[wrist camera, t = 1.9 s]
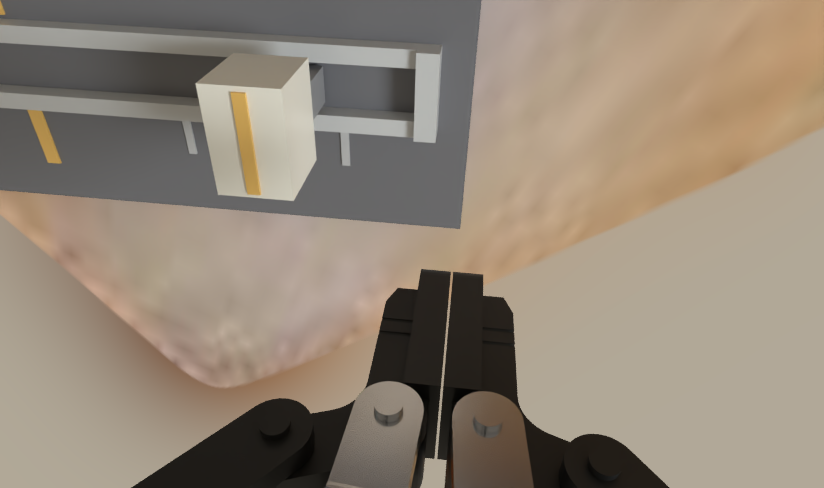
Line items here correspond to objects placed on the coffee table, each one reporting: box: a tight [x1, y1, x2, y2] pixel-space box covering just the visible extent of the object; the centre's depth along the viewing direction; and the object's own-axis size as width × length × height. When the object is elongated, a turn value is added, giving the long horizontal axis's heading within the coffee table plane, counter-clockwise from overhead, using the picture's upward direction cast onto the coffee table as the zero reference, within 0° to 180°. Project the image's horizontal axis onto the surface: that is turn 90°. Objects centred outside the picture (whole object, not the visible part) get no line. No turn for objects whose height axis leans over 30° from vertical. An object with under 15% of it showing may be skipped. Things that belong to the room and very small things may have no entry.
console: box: [0, 0, 481, 229], centre depth 27 cm, size 15×32×3 cm, turn 88°
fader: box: [195, 53, 325, 201], centre depth 23 cm, size 4×3×7 cm
